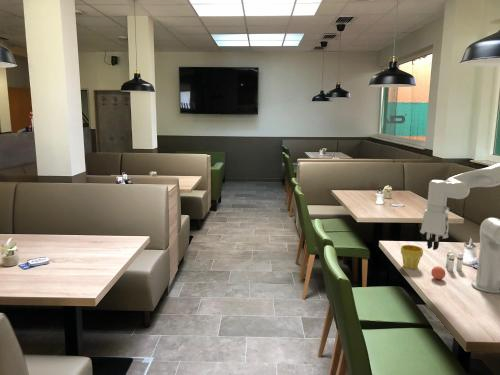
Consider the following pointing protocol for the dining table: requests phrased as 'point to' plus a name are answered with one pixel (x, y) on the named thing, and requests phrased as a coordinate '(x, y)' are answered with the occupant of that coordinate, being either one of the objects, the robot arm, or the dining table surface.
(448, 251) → the rear left pin
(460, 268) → the rear right pin
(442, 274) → the ball
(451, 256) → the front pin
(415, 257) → the plant pot
